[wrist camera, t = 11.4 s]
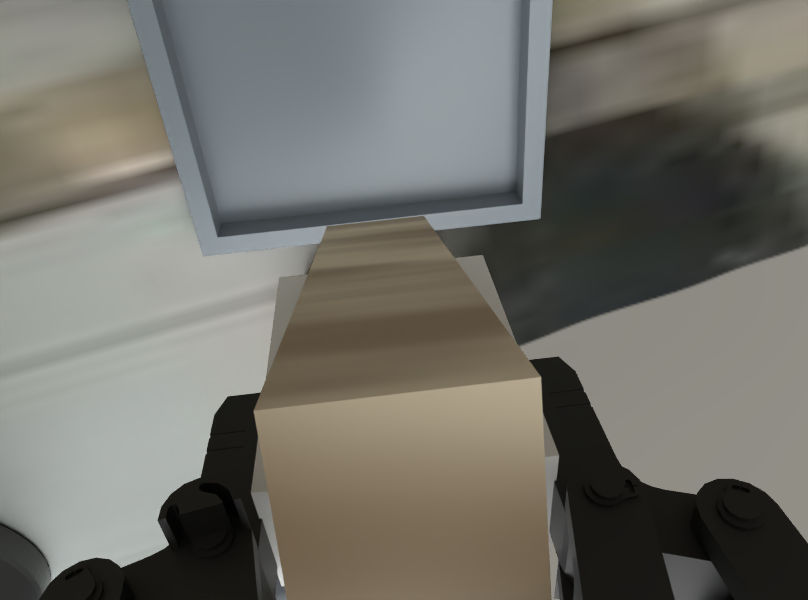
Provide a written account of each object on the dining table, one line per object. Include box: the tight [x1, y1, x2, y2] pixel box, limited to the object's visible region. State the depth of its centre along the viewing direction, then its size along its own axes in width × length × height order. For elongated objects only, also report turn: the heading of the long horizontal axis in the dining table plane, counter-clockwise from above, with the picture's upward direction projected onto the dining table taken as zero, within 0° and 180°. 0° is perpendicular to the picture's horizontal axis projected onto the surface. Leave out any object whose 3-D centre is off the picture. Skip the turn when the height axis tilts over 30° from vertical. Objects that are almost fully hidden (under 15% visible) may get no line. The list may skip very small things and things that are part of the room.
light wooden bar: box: [254, 216, 551, 600], centre depth 16 cm, size 8×4×16 cm, turn 4°
